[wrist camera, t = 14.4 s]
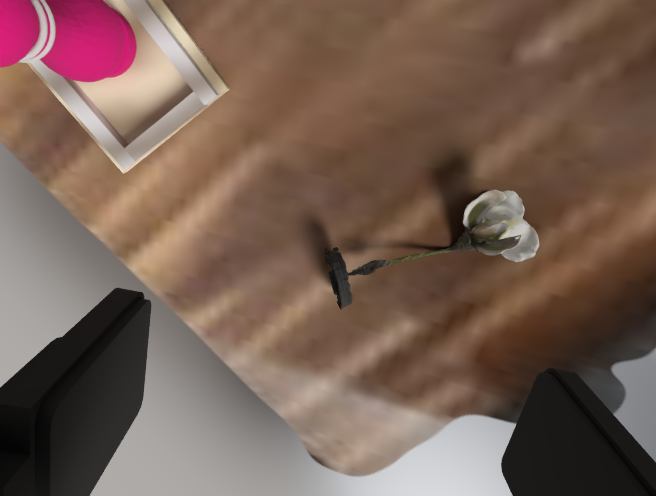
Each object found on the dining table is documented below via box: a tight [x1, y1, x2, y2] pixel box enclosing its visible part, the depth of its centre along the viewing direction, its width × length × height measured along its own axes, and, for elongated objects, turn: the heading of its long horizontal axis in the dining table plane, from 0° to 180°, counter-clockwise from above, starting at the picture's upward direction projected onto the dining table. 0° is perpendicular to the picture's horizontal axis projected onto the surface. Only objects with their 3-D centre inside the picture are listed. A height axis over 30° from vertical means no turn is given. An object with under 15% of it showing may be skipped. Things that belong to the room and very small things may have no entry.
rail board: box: [27, 0, 230, 173], centre depth 42 cm, size 20×14×2 cm
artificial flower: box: [325, 190, 539, 309], centre depth 46 cm, size 9×22×10 cm, turn 103°
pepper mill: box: [0, 0, 137, 82], centre depth 32 cm, size 7×7×20 cm
